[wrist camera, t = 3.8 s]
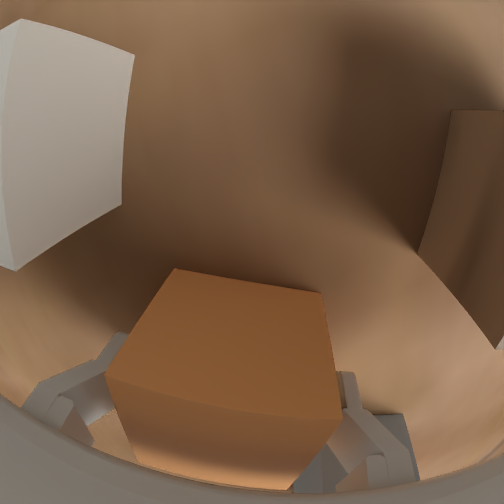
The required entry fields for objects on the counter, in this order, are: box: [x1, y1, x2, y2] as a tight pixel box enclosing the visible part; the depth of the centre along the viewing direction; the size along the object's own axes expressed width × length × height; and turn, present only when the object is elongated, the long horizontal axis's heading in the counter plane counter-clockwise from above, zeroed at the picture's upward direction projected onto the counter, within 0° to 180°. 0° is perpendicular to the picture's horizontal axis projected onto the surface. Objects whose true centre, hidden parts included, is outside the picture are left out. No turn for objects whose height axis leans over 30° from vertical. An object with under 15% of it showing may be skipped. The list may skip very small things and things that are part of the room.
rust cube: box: [104, 268, 343, 490], centre depth 8 cm, size 5×5×5 cm
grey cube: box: [0, 19, 135, 272], centre depth 6 cm, size 5×5×5 cm
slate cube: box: [293, 414, 420, 493], centre depth 11 cm, size 5×5×5 cm
